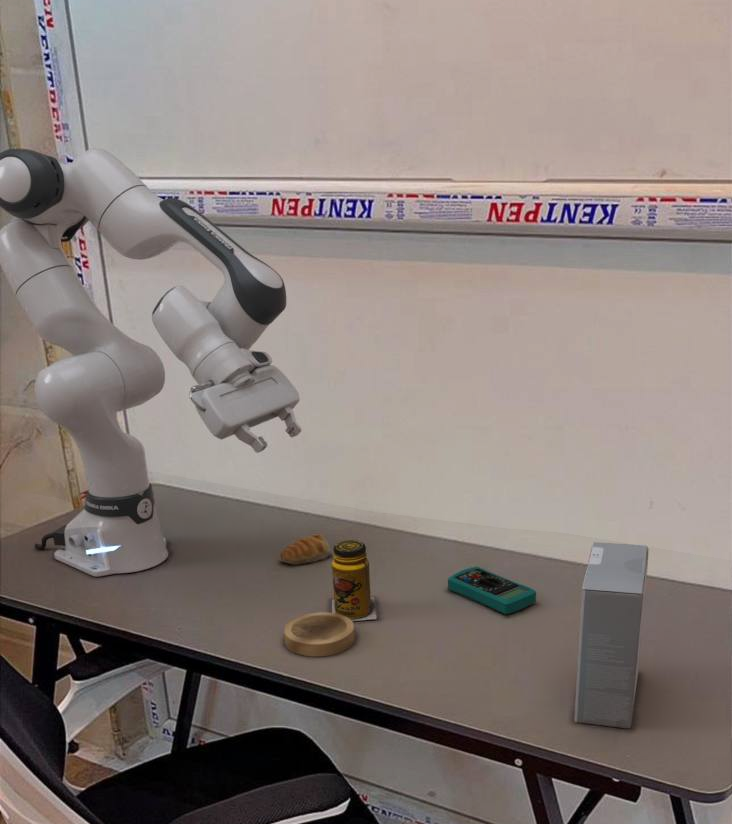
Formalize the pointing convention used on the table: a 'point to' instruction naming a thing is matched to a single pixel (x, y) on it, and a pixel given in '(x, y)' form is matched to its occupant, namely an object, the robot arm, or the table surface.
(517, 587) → the digital multimeter
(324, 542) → the pastry
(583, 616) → the hard drive box
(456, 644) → the table surface
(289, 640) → the coaster
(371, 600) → the condiment
